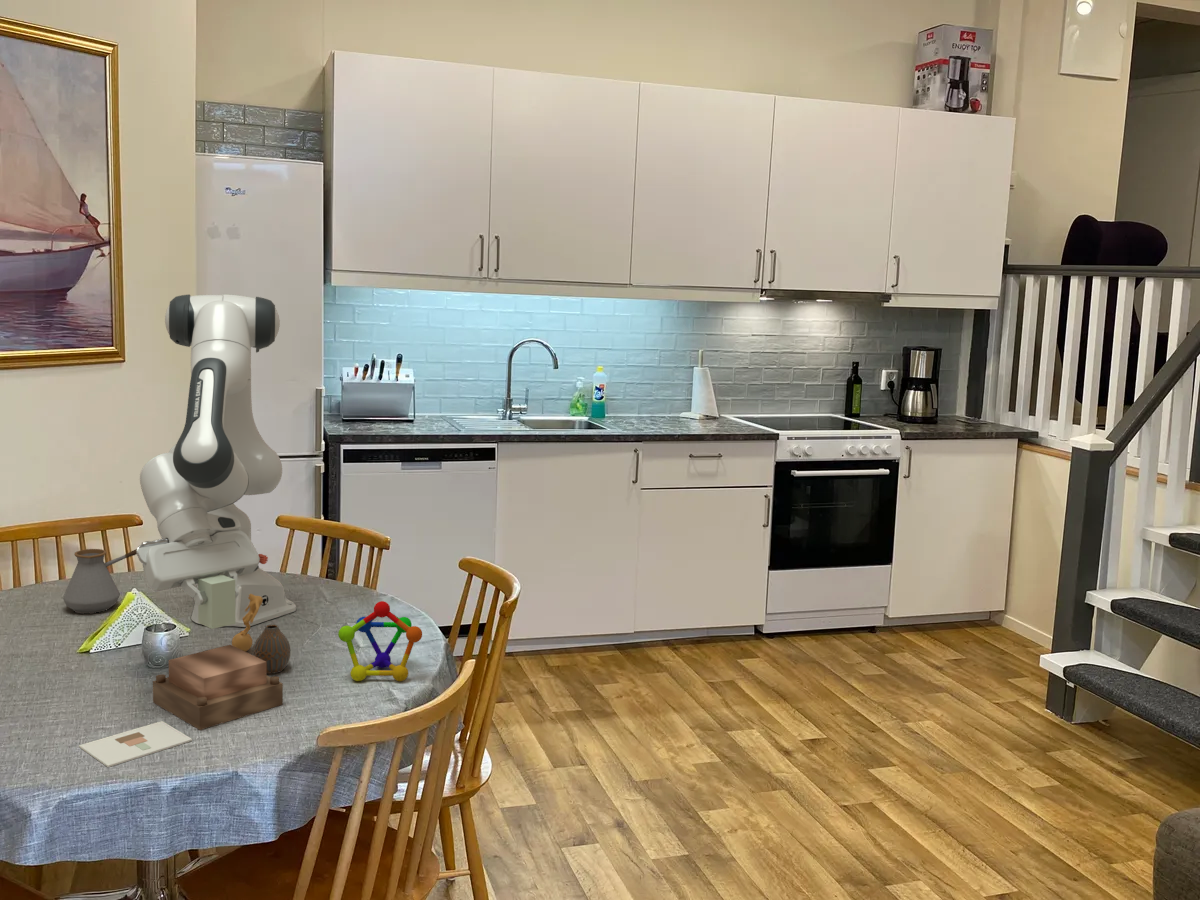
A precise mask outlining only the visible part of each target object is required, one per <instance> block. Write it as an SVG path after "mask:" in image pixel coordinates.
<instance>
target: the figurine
mask: <svg viewBox="0 0 1200 900" xmlns="http://www.w3.org/2000/svg"><path fill="white" fill-rule="evenodd" d="M248 599H250V602H249V605H248V607H247V608H246V609H245V612H246V611H247V610H248V608H249V607H250V611H249V612H248V613H247V614H246V615H245V616H244V617H243V619H242V620H243V622H244V625H246V627H244V629H243V630H241V631H240V632H238V633H236V634H235V635H234V636H233V637H232V639H231V645H232V646H234V647H237V648H239V649H241V650H243V651H245V652H247V651H249V650H250V649H251V647H252V646H253V638H252V636H251V635H250V634H249V633H248V632H249V631H250V630H251V626H250V624H251V623H250V622H253V620H254V617H255V616H256V614H257V612H258V610H259V607H260V606H261V604H262V601H263V599H262V597H260V596H255V595H253V594H249V597H248ZM250 620H251V621H250ZM249 621H250V622H249ZM249 623H250V624H249Z"/></svg>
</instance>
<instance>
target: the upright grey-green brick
mask: <svg viewBox="0 0 1200 900" xmlns="http://www.w3.org/2000/svg"><path fill="white" fill-rule="evenodd" d="M198 590H199V591H200V592H203V591H205V593H206V596H207V597H208V601H207V602H206V604H203V605H198V623H200V624H199V625H203V626H205V627H206V628H209V629H211V630H214V629H217V628H221V627H228V626H227V625H232V624H235V579H232V578H230V577H227V576H225V575H222V574H220V575H215V576H210V577H205V578H199V579H198ZM198 623H197V624H198Z"/></svg>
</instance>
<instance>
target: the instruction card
mask: <svg viewBox="0 0 1200 900" xmlns="http://www.w3.org/2000/svg"><path fill="white" fill-rule="evenodd" d="M190 742H193V739H192V738H191V737H190V736H188V735H186V733H185V734H184V732H181V731H180V730H178V729H176V728H174V727H173V726H171V725H169V724H168V723H166V722H165V721H163V720H161V721H158V722H153V723H151V724H148V725H147V724H146V725H143V726H140V727H137V728H134V729H133V728H132V729H129V730H126V731H124V732H119V733H116V734H114V735H110V736H107V737H103V738H100V739H96V740H93V741H90V742H85V743H82V744H79V745H78V748H79V749H80V750H82V751H84V752H85V753H86V754H88V755H89V756H91V757H92V758H94V759H95V760H97V761H98V762H99V763H101V764H102V765H104V766H105V767H107V768H110V767H113V766H117V765H119V764H123V763H126V762H130V761H132V760H136V759H139V758H142V757H146V756H148V755H153V754H155V753H158V752H162V751H164V750H167V749H171V748H174V747H178V746H181V745H184V744H187V743H190Z"/></svg>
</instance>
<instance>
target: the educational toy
mask: <svg viewBox="0 0 1200 900" xmlns="http://www.w3.org/2000/svg"><path fill="white" fill-rule="evenodd" d="M376 618H387V619H389V620H391V621H374V620H375V619H376ZM372 628H396V630H397V631H395V634H394V636H393V637H392V639H391V641H390V642H389V644H388V646H387V647H386V649H385V651H383V652H382V650H381V647H379V645H378V642H377V641H376V638H375V636H374V635H373V633H372V631H371V629H372ZM356 632H360V633H365V635H366V637H367V640H369V642H370V645H371V646H372V648H373V651H374V652H375V654H376V655H375V657H374V661H373V662H371V663H369V664H367V665H366V666H364V665H362V664H359V659H358V657H357V653H356V650H355V648H354V643H353V640H354V638H355V635H356ZM337 634H338V638H339V640H340V641H342V642H345V643H346V645H347V649H348V652H349V655H350V659H351V661H352V665H353V667H352V668H351V669H350V672H349V673H350V677H351V679H352V680H353V681H354V682H362V681H363V680H365V679H366V678H367V677H370V676H371V677H379V676H380V677H383V676H384V677H392V678H393V679H394V680H395V681H396V682H403V681H405V680H407V678H408V676H409V669H408V667H407V664H408V661H409V658H410V655H411V652H412V650H413V647H414V644H415V643H417V642H420V641H421V639H422V637H423V631H422V629H421V627H419V626H417V625H413V624H412V621H411V619H410V618H408V617H406V616H401V617H398V616H397V615H395V614H394V613H392V612H391V606H390V604H389V603H388V602H386V601H383V600H382V601H377V602H376V603H375V604H374V607H373V612H371V613H370V614H368V615H366V616H360V617H359V618H358V619H357V620H356V622H355V624H354V625H352V626H351V625H344V626H341V627H340V628H339V630H338V633H337ZM402 634H405V637H406V639H407V641H408V643H407V645H406V648H405V651H404V654H403V657H402V660H401V662H400V664H398V665H394V664H393V663H392V662H391V659H392V658H391V656H390V654H391V653H392V650H393V649H394V647H395V646H396V644H397V642H398V640H399V638H400V637H401V636H402ZM376 667H377V668H379V669H382V670H376V669H375V668H376ZM386 668H388V669H389V670H387V669H386ZM373 669H375V670H373ZM383 669H384V670H383ZM385 669H386V670H385Z"/></svg>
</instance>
